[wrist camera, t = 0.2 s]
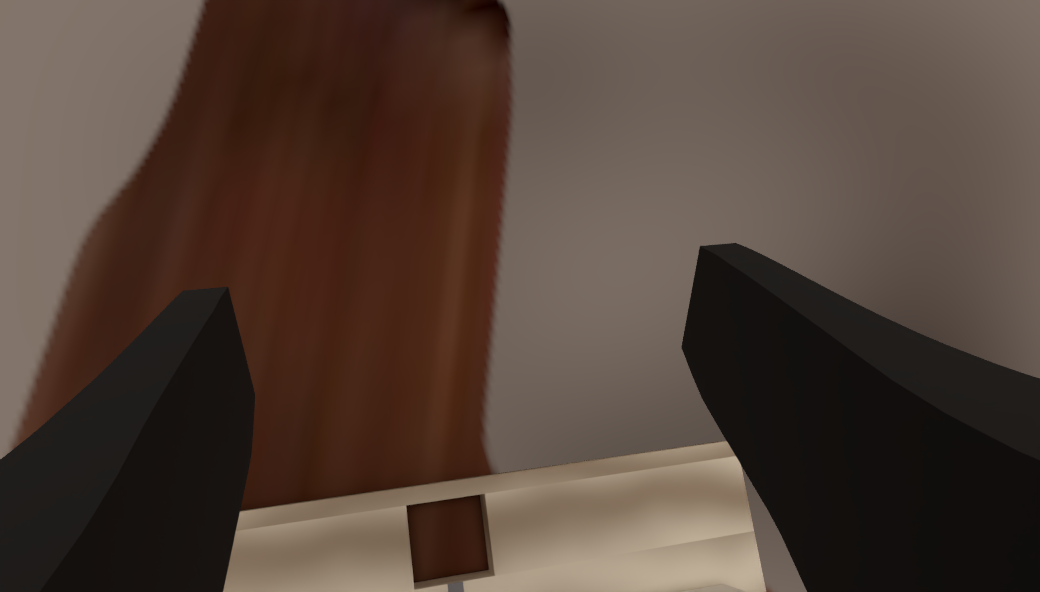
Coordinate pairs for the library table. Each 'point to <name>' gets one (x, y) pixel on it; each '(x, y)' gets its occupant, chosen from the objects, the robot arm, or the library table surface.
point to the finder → (716, 589)
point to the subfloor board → (525, 531)
